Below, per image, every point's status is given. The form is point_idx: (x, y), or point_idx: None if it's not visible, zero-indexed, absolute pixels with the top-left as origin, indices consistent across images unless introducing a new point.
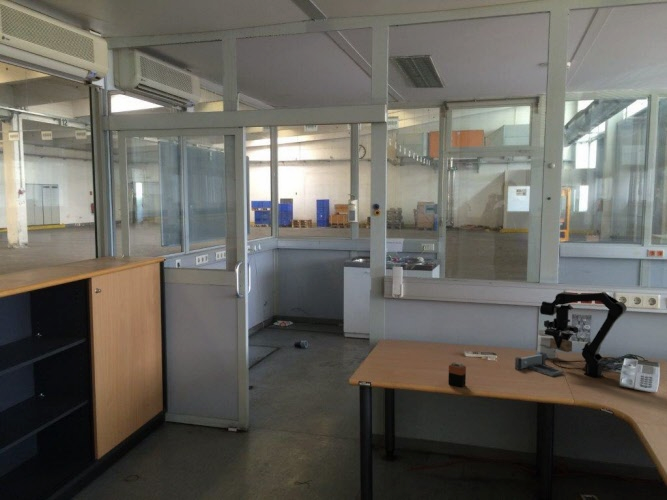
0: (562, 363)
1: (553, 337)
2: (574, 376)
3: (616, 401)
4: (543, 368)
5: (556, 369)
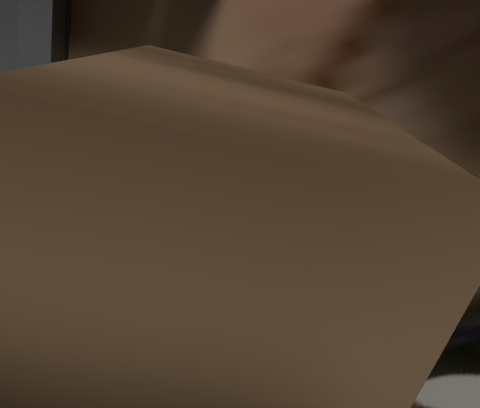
0: (449, 92)
1: (314, 175)
2: None
3: None
4: (17, 47)
5: None
